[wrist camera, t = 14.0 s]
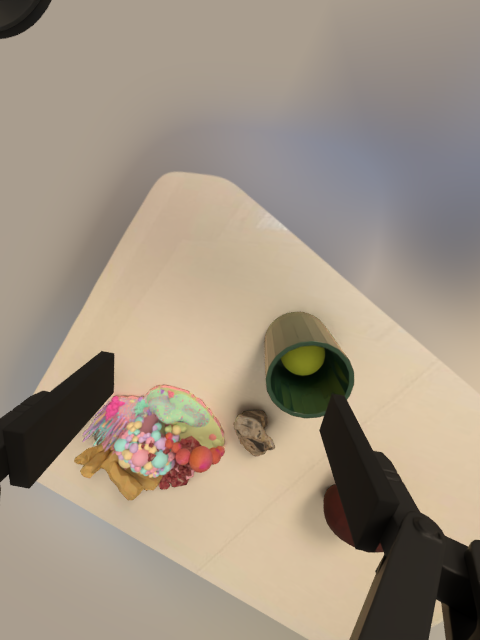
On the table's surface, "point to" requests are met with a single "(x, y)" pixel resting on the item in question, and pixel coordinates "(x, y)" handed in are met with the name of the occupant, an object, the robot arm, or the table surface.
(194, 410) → the candy landscape model
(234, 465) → the table surface
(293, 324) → the tube
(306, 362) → the ball
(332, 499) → the dark brown round lump
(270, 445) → the rock
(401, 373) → the table surface
